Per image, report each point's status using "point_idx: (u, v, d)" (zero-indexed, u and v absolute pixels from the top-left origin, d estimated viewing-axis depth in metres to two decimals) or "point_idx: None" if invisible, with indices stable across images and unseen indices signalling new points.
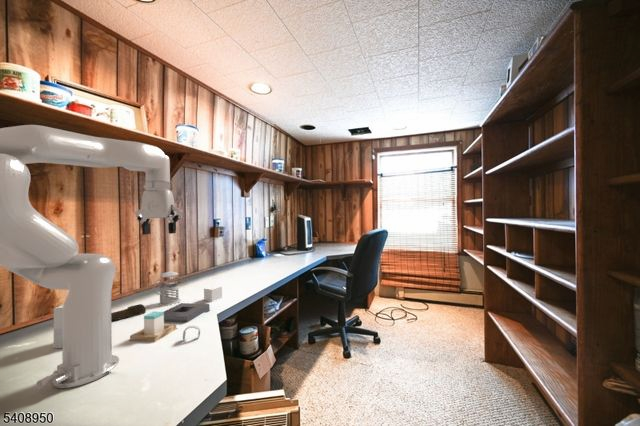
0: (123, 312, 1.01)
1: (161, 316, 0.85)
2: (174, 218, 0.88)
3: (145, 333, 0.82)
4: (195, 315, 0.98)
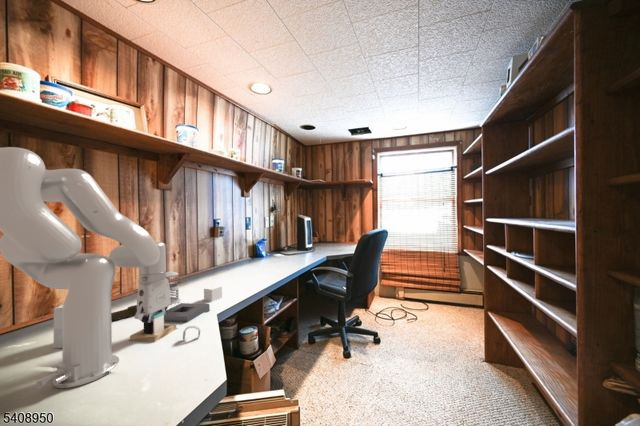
0: (123, 312, 1.01)
1: (161, 316, 0.85)
2: (165, 311, 0.88)
3: None
4: (195, 315, 0.98)
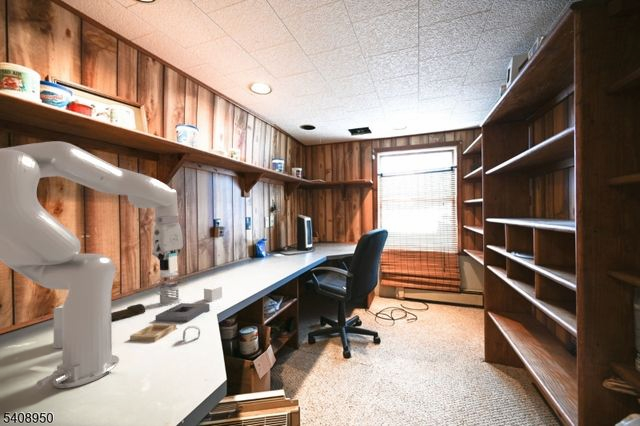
0: (123, 312, 1.01)
1: (175, 256, 0.93)
2: (178, 253, 0.97)
3: (161, 270, 0.91)
4: (195, 315, 0.98)
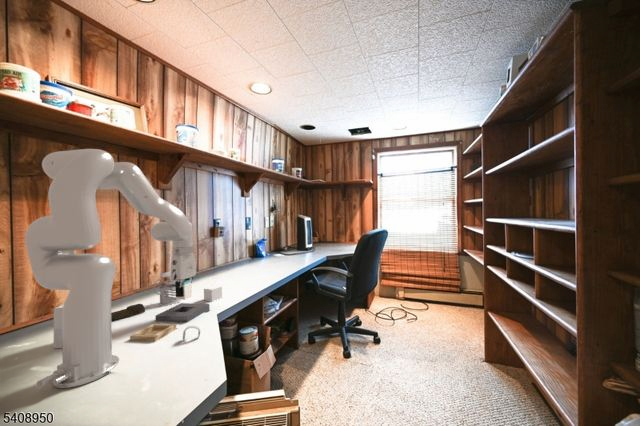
0: (123, 312, 1.01)
1: (189, 283, 1.02)
2: (191, 280, 1.06)
3: None
4: (195, 315, 0.98)
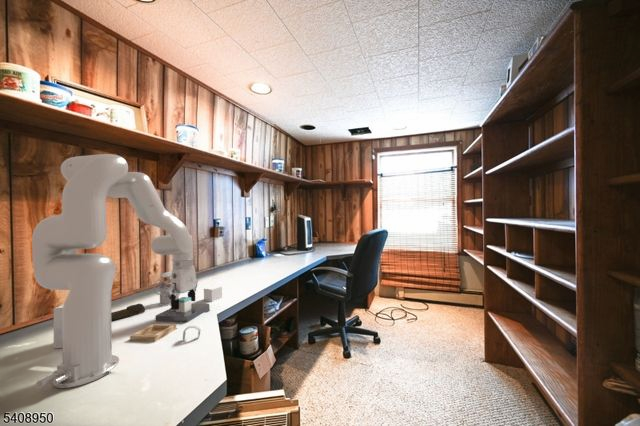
0: (123, 311, 1.01)
1: (189, 300, 1.02)
2: (195, 287, 1.08)
3: None
4: (195, 315, 0.98)
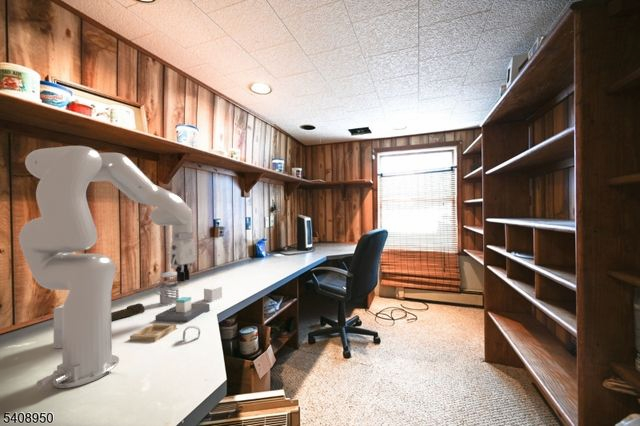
0: (123, 311, 1.02)
1: (189, 300, 1.02)
2: None
3: None
4: (195, 315, 0.98)
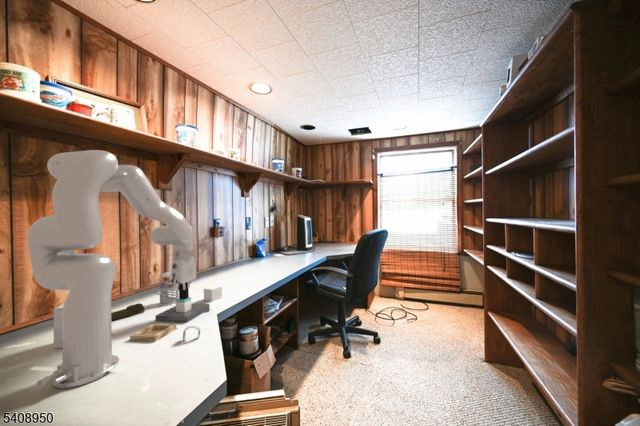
0: (123, 311, 1.02)
1: (189, 300, 1.02)
2: None
3: None
4: (195, 315, 0.98)
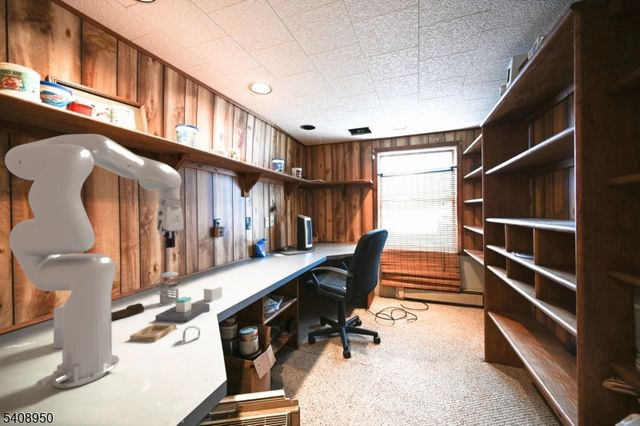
0: (123, 311, 1.02)
1: (189, 300, 1.02)
2: None
3: None
4: (195, 315, 0.98)
